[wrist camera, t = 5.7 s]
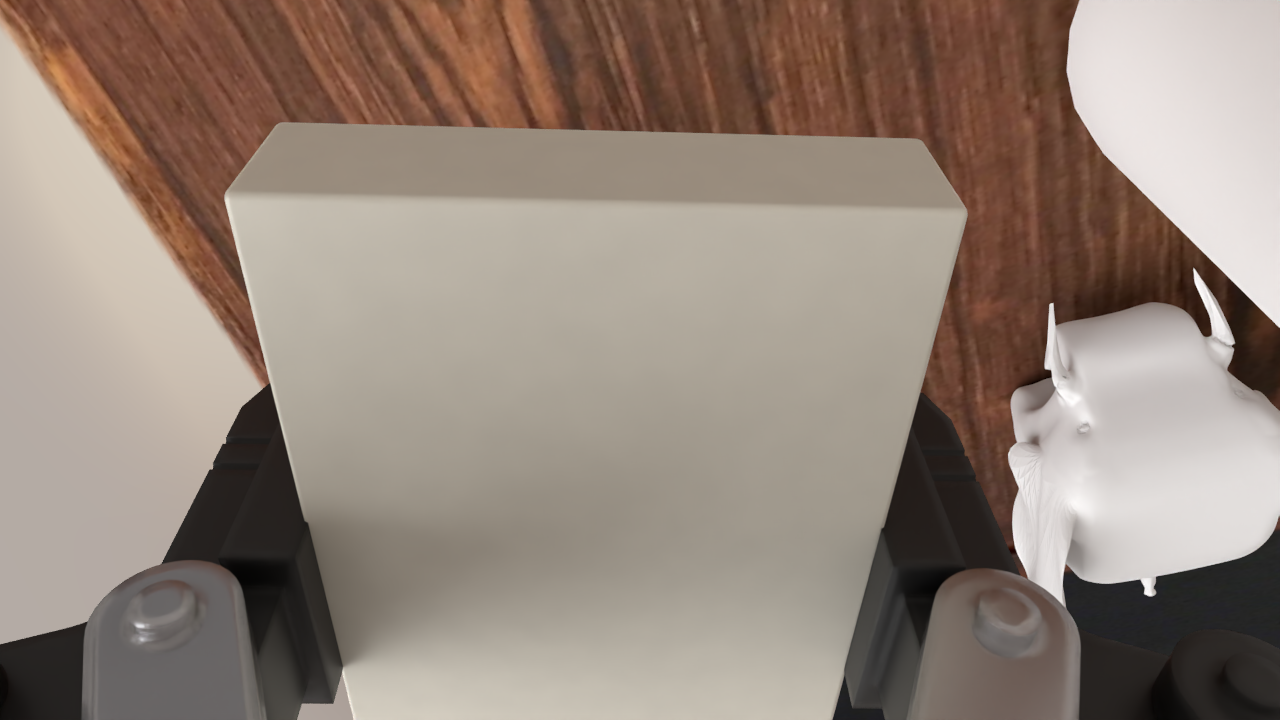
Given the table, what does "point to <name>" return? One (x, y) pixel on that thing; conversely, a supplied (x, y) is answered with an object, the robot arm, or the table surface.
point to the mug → (1192, 120)
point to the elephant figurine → (1141, 451)
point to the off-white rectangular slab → (593, 404)
